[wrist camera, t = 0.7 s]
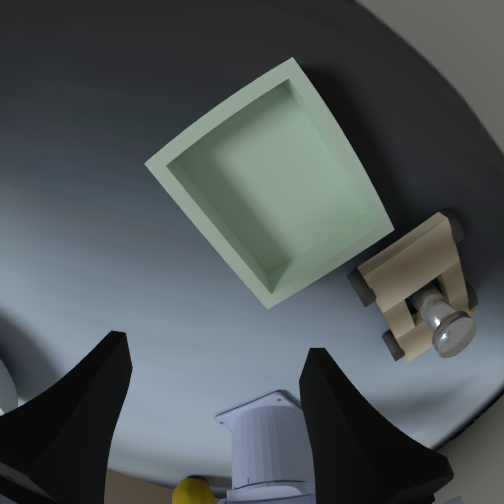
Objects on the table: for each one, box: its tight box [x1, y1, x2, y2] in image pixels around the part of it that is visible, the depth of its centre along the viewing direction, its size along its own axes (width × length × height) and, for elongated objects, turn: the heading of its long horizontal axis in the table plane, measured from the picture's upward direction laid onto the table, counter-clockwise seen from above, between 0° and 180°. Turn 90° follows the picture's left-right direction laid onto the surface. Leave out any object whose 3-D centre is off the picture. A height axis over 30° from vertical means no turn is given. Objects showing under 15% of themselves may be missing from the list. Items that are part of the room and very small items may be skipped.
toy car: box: [347, 208, 478, 362], centre depth 21 cm, size 12×9×3 cm
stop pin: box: [408, 282, 477, 358], centre depth 19 cm, size 3×3×7 cm
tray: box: [145, 57, 394, 310], centre depth 17 cm, size 11×9×3 cm
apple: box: [172, 478, 214, 504], centre depth 34 cm, size 6×6×8 cm
